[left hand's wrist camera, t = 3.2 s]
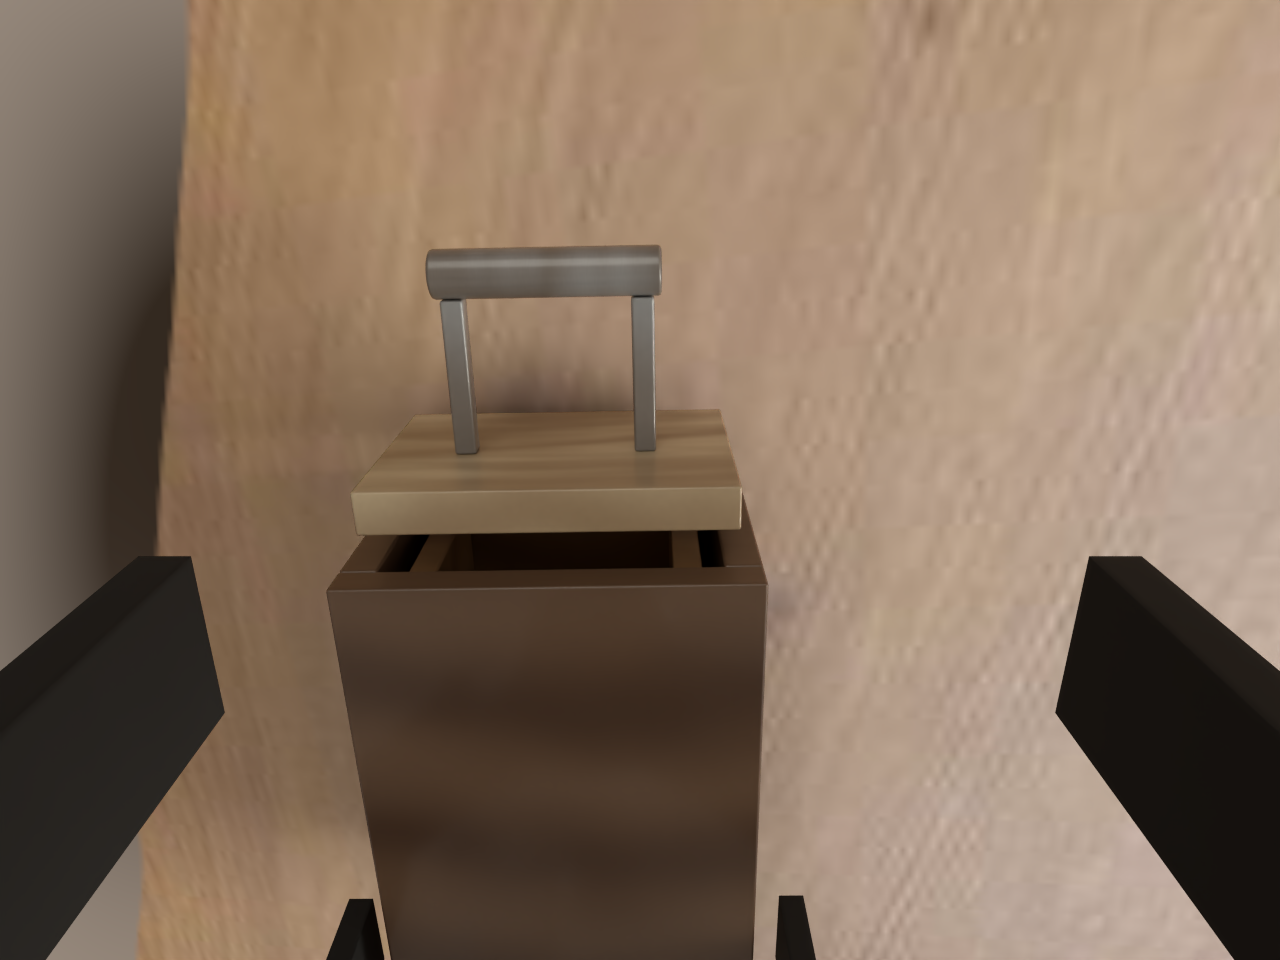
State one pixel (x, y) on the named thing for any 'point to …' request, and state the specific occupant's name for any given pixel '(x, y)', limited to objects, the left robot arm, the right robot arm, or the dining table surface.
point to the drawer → (552, 442)
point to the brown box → (559, 752)
